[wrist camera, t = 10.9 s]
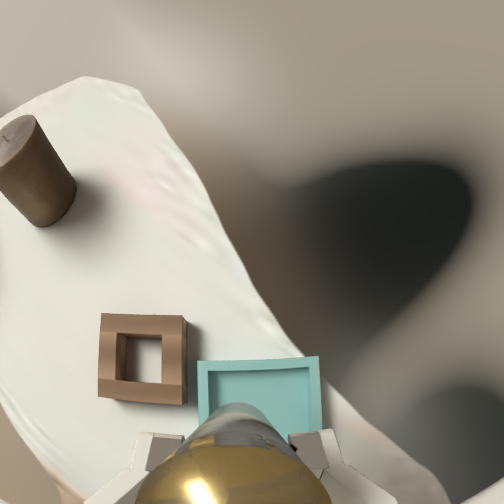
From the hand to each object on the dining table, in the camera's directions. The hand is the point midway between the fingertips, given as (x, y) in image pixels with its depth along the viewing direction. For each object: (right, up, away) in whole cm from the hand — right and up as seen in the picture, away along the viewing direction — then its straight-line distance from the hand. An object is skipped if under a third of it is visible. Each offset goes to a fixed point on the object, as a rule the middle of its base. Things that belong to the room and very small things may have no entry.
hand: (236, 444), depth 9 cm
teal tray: (+1, -11, +20) cm, 22 cm away
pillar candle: (-30, +14, +30) cm, 45 cm away
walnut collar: (-11, -5, +21) cm, 25 cm away
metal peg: (0, -3, +6) cm, 6 cm away
